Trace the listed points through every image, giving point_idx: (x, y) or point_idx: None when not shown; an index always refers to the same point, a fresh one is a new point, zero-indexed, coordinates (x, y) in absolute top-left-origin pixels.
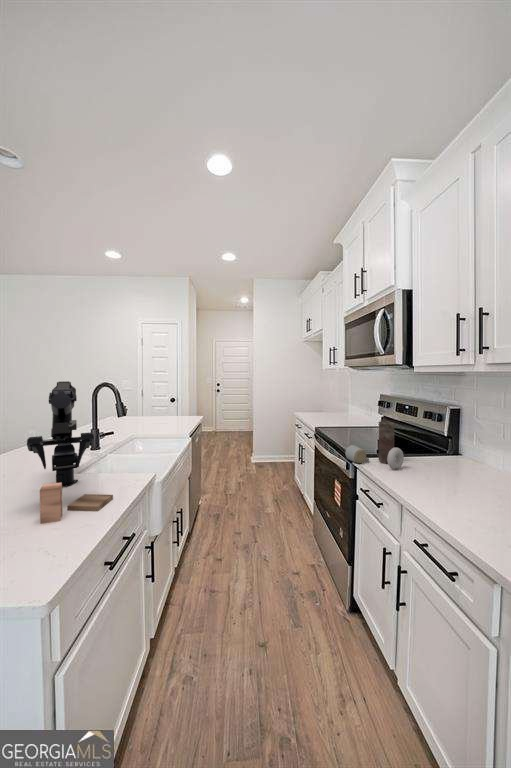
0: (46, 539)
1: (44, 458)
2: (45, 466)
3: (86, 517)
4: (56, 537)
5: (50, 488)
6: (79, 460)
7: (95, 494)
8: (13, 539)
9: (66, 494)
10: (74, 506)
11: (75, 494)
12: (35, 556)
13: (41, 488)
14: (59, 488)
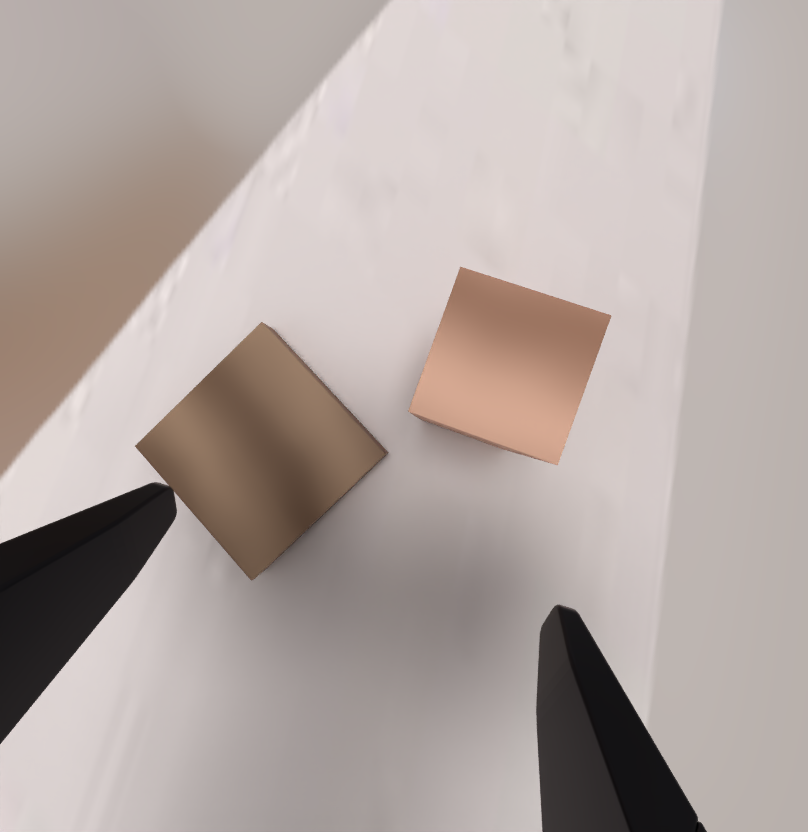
0: (547, 163)
1: (614, 766)
2: (561, 619)
3: (340, 289)
4: (508, 154)
5: (528, 293)
6: (110, 501)
7: (206, 527)
8: (666, 263)
9: (323, 728)
10: (355, 421)
11: (283, 685)
12: (614, 31)
13: (590, 349)
14: (461, 269)
